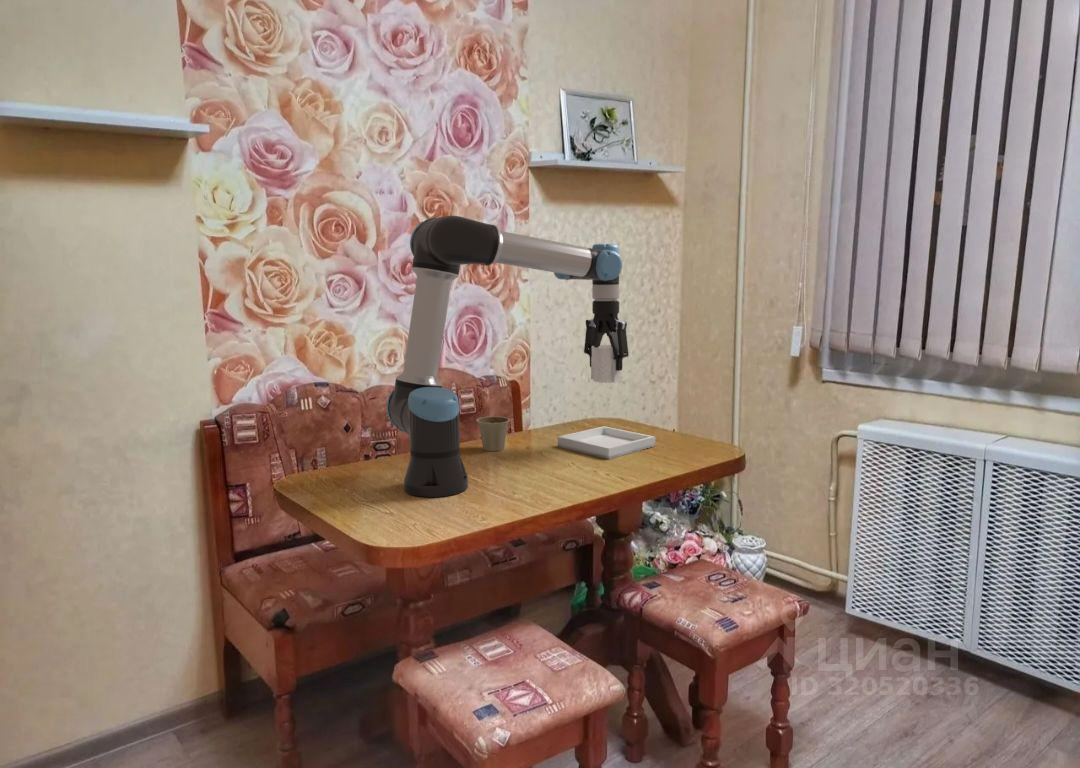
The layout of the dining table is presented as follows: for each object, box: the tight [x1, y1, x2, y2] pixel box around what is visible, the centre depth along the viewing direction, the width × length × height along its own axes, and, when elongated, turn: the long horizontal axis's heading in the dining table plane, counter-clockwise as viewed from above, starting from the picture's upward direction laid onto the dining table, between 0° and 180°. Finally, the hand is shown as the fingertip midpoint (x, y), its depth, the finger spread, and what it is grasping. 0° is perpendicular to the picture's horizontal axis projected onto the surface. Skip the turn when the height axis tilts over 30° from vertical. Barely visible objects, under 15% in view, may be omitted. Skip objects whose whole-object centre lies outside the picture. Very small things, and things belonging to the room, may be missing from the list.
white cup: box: [591, 344, 614, 384], centre depth 212 cm, size 8×8×10 cm
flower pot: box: [476, 415, 511, 452], centre depth 214 cm, size 9×9×9 cm
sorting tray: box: [557, 425, 656, 460], centre depth 216 cm, size 20×20×3 cm
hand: (605, 380), depth 213 cm, fingers closed on white cup, 7 cm apart
